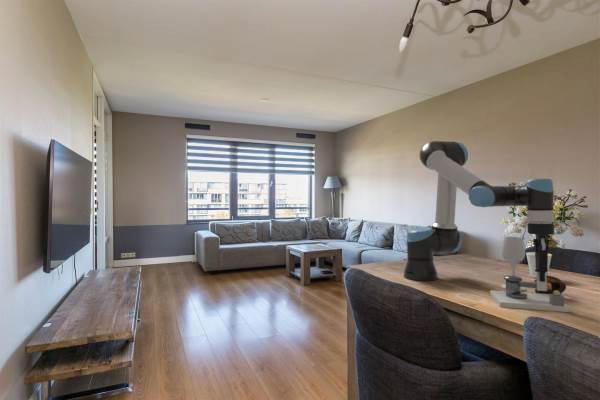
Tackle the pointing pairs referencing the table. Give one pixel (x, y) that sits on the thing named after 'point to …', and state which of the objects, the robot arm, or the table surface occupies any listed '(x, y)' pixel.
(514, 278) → the capstan
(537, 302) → the level board
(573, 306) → the table surface
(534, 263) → the cup
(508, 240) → the wineglass
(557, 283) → the brown animal figurine
